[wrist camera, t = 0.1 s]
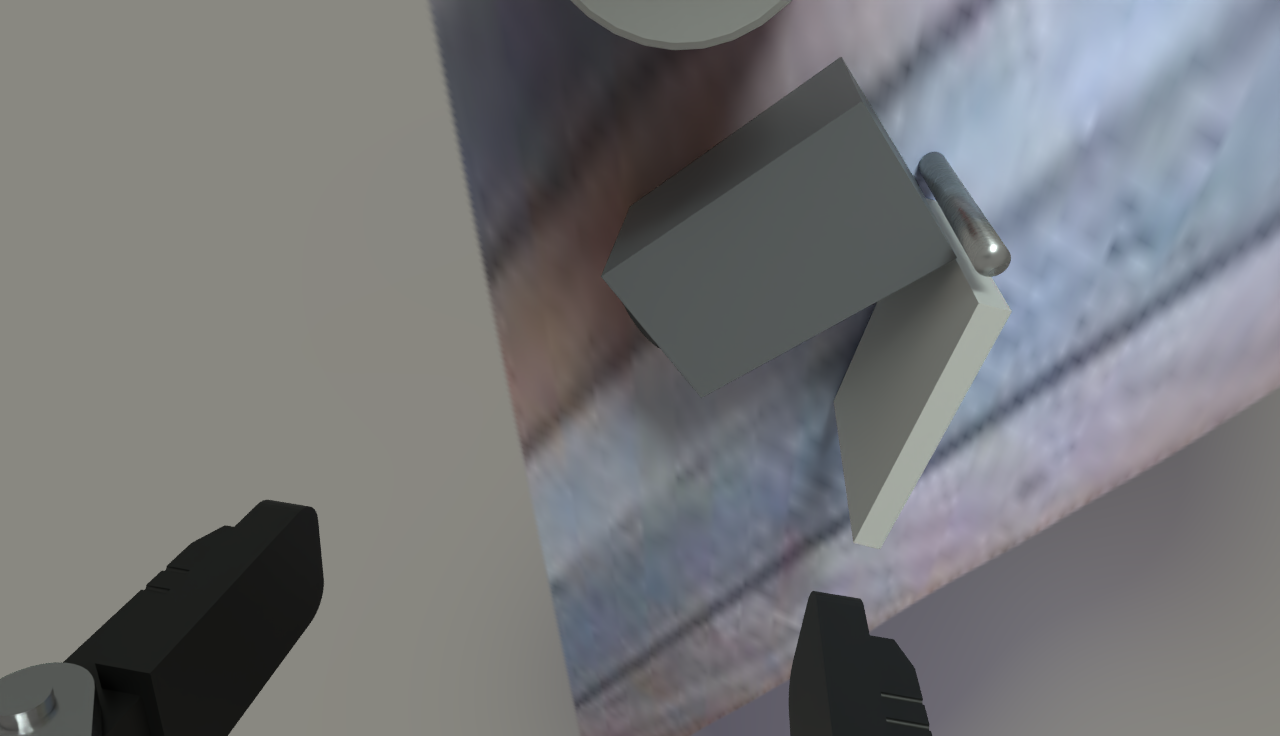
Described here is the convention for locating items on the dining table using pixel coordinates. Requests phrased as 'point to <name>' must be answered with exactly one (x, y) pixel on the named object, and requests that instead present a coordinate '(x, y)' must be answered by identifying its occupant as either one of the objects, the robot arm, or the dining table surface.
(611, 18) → the canned food
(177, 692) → the robot arm
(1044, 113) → the dining table surface
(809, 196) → the block
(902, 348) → the side door
